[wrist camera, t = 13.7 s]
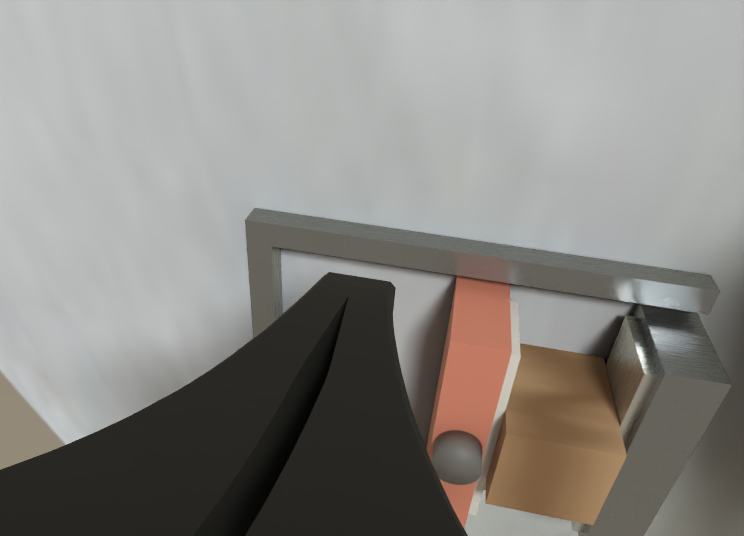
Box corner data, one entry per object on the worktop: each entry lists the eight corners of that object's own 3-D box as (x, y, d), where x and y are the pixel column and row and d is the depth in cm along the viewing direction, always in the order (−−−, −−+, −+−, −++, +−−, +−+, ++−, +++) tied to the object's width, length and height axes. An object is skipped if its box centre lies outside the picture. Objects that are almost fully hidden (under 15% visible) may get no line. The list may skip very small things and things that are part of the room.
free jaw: (520, 284, 21) (525, 375, 17) (476, 453, 27) (472, 553, 23) (457, 274, 22) (448, 362, 18) (426, 444, 27) (414, 540, 23)
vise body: (710, 275, 20) (753, 348, 17) (604, 495, 27) (619, 577, 24) (254, 208, 22) (212, 261, 19) (267, 430, 29) (238, 497, 26)
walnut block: (603, 356, 23) (626, 456, 19) (577, 422, 25) (593, 525, 21) (504, 340, 23) (506, 433, 19) (487, 406, 26) (485, 503, 21)
